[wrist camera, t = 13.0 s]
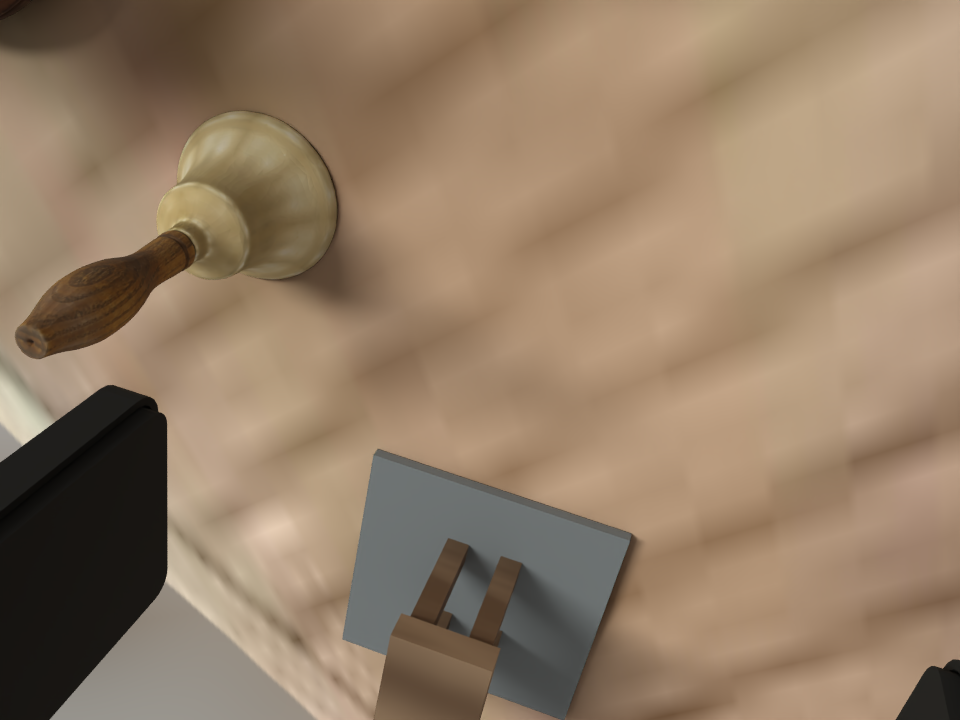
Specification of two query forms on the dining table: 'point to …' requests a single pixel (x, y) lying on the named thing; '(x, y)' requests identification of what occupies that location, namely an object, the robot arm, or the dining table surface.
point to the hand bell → (203, 230)
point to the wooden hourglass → (11, 7)
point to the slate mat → (485, 573)
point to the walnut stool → (444, 648)
